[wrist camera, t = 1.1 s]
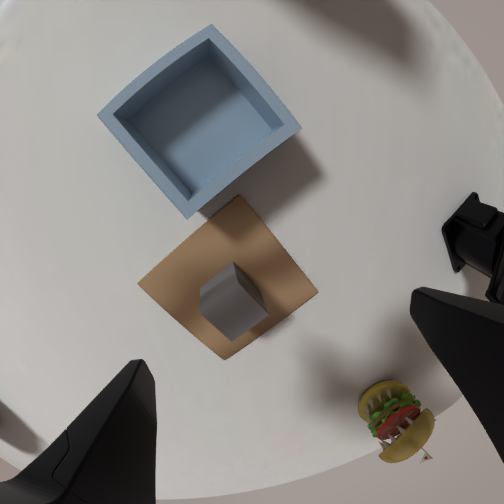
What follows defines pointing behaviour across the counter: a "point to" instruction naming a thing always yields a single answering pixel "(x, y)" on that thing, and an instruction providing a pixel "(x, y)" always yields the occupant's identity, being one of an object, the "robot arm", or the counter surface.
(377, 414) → the hamburger
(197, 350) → the counter surface
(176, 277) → the lid
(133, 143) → the light blue open box
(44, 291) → the counter surface
